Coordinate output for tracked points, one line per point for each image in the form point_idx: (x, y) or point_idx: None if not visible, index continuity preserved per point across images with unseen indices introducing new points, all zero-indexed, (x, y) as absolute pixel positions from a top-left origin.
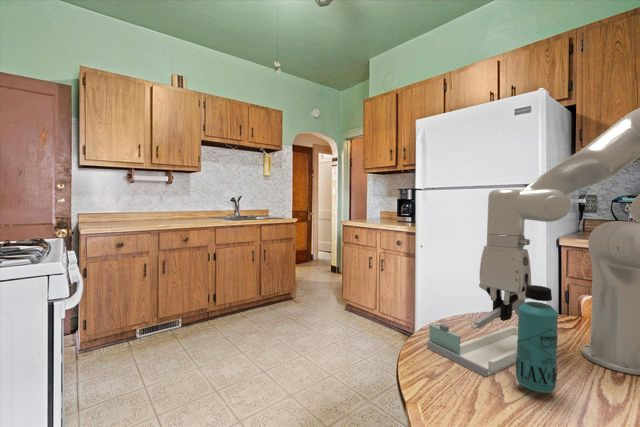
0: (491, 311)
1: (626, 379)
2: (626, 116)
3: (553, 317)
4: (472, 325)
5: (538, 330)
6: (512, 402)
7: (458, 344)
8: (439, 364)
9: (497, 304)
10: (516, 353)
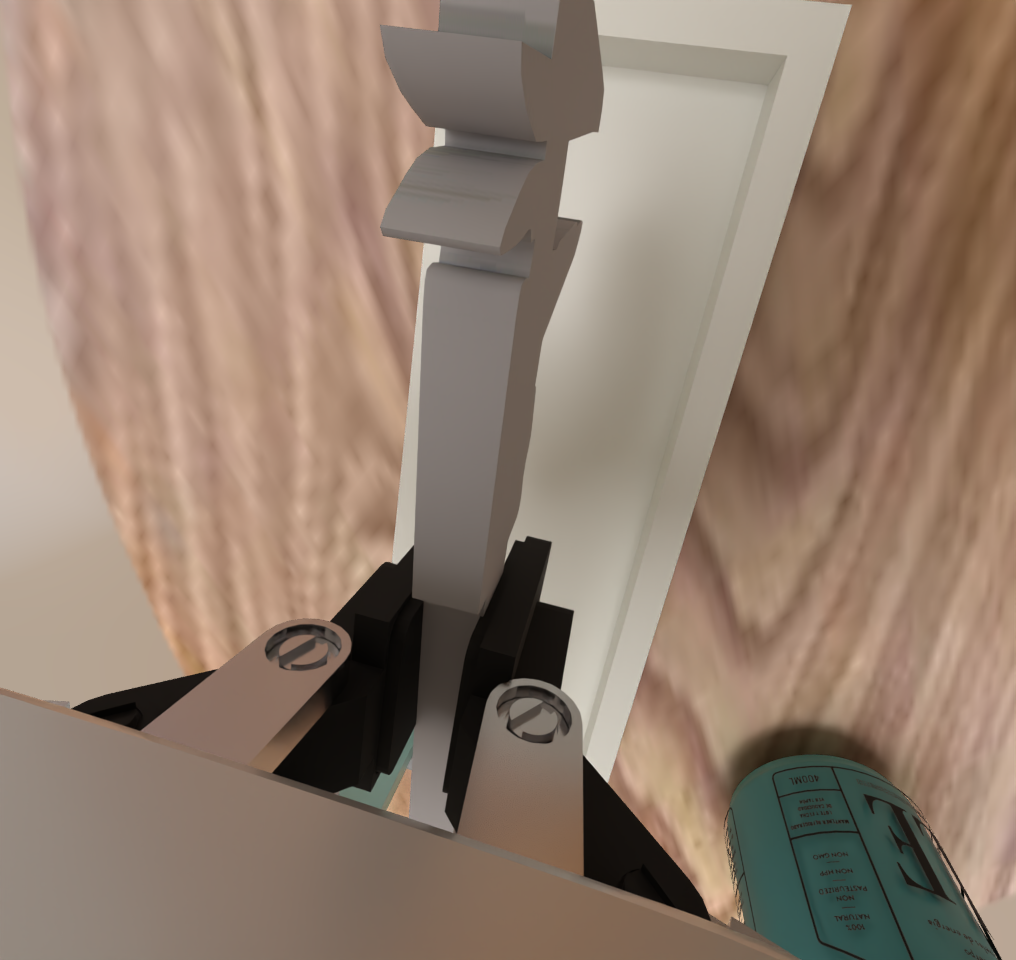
0: (411, 789)
1: None
2: None
3: None
4: None
5: None
6: (738, 903)
7: (398, 783)
8: (402, 797)
9: (398, 754)
10: (665, 597)
